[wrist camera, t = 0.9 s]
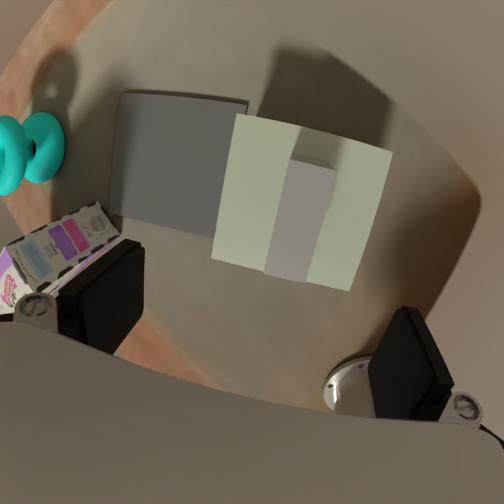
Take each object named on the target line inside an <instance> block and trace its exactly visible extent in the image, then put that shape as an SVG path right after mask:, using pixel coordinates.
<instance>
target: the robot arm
mask: <svg viewBox="0 0 504 504" xmlns="http://www.w3.org/2000/svg"><path fill="white" fill-rule="evenodd" d="M144 260H145V249H144V247H141V243H140V242H137V241H133V240H129V239H124V240H123V241H121V242H120V243H119V244H117V245H116V246H115V247H113V248H112V249H110V250H109V251H108V252H106V253H105V254H104V255H103V256H101V257H100V258H99V259H97V260H96V261H95V262H93V263H92V264H91V265H89V266H88V267H87V268H86V269H84V270H83V271H82V272H81V273H79V274H78V275H77V276H75V277H74V278H73V279H72V280H71V281H69V282H68V283H67V284H66V285H64V286H63V287H62V288H61V289H59V290H58V292H59V295H58V296H57V297H56V298H54V297H53V296H51V295H50V294H48V293H43V292H34V293H29V294H27V295H25V296H23V297H22V298H20V299H19V300H18V301H17V303H16V305H15V309H14V313H7V314H0V504H504V441H503V440H502V439H500V438H499V437H498V436H496V435H495V434H494V433H492V432H491V431H490V430H488V429H487V428H486V427H484V426H483V425H482V424H481V421H482V417H483V412H482V408H481V406H480V404H479V403H478V401H477V400H476V399H475V398H474V397H472V396H471V395H469V394H467V393H465V392H455V393H453V394H452V392H451V389H452V387H453V386H454V385H455V384H454V382H453V380H452V377H451V375H450V373H449V371H448V368H447V366H446V364H445V362H444V360H443V357H442V355H441V353H440V351H439V349H438V347H437V345H436V343H435V341H434V339H433V337H432V335H431V333H430V331H429V329H428V327H427V325H426V323H425V321H424V319H423V317H422V315H421V314H420V312H419V310H418V309H417V308H412V307H408V306H403V307H402V308H401V309H397V310H396V312H395V314H394V316H393V318H392V320H391V322H390V324H389V326H388V328H387V330H386V332H385V334H384V336H383V338H382V340H381V341H380V343H379V345H378V347H377V349H376V351H375V353H374V354H373V356H366V357H360V358H356V359H353V360H351V361H348V362H346V363H344V364H342V365H341V366H339V367H337V368H336V369H335V370H334V371H332V373H331V374H330V375H329V376H328V377H327V379H326V381H325V383H324V386H323V398H324V401H325V403H326V405H327V406H328V407H329V408H330V409H332V410H333V411H334V413H332V412H325V411H318V410H312V409H306V408H300V407H294V406H289V405H283V404H278V403H273V402H269V401H264V400H259V399H255V398H250V397H246V396H242V395H238V394H233V393H229V392H225V391H222V390H218V389H214V388H210V387H207V386H203V385H200V384H196V383H193V382H189V381H186V380H183V379H179V378H176V377H173V376H170V375H167V374H164V373H160V372H157V371H154V370H152V369H149V368H146V367H143V366H140V365H137V364H135V363H132V362H129V361H126V360H124V359H121V358H118V357H116V356H113V354H114V352H115V351H116V350H117V348H118V347H119V345H120V344H121V343H122V341H123V340H124V339H125V337H126V336H127V335H128V333H129V332H130V331H131V329H132V328H133V327H134V325H135V324H136V323H137V322H138V320H139V319H140V318H141V316H142V313H143V308H144Z"/></svg>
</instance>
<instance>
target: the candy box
mask: <svg viewBox="0 0 504 504" xmlns="http://www.w3.org/2000/svg"><path fill="white" fill-rule="evenodd" d="M120 235H121V234H120V233H119V232H118V230H117V229H116V227H115V226H114V224H113V223H112V221H111V220H110V218H109V217H108V215H107V214H106V212H105V211H104V209H103V207H102V206H101V205H100V203H99V202H98V201H96V202H94V203H91V204H89V205H87V206H85V207H83V208H81V209H78V210H76V211H74V212H72V213H70V214H67V215H65V216H63V217H61V218H59V219H57V220H55V221H53V222H51V223H49V224H47V225H45V226H43V227H40V228H38V229H37V230H35V231H32V232H30V233H29V234H26V235H25V236H23V237H21V238H19V239H17V240H15V241H13V242H11V243H10V244H8V245H6V246H5V247H4V248H3V250H2V252H1V254H0V314H7V313H14V309H15V305H16V303H17V301H18V300H19V299H20V298H22V297H23V296H25V295H27V294H29V293H34V292H43V293H48V294H50V295H51V294H52V293H54V292H55V291H56V290H57V289H58V288H60V287H61V286H62V285H64V284H65V283H66V282H67V281H69V280H70V279H71V278H73V277H74V276H75V275H76V274H77V273H78V272H79V271H80V270H81V269H82V268H84V267H85V266H86V265H87V264H88V263H89V262H90V261H91V260H92V259H94V258H95V257H96V256H97V255H98V254H99V253H100V252H101V251H102V250H103V249H105V248H106V247H107V246H108V245H109V244H110V243H112V242H113V241H114V240H115V239H116V238H118V237H119V236H120Z"/></svg>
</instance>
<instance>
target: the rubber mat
mask: <svg viewBox="0 0 504 504" xmlns="http://www.w3.org/2000/svg"><path fill="white" fill-rule="evenodd" d="M247 107H248V106H247V105H242V104H236V103H230V102H223V101H216V100H208V99H200V98H191V97H181V96H170V95H156V94H138V93H121V97H120V103H119V109H118V116H117V123H116V131H115V139H114V148H113V158H112V170H111V183H110V201H109V213H110V214H114V215H118V216H123V217H127V218H131V219H135V220H140V221H144V222H148V223H152V224H157V225H161V226H165V227H169V228H173V229H178V230H182V231H186V232H190V233H195V234H199V235H203V236H207V237H211V238H215V232H216V225H217V219H218V213H219V207H220V201H221V195H222V190H223V184H224V178H225V173H226V167H227V162H228V156H229V151H230V145H231V140H232V135H233V130H234V124H235V119H236V114H237V113H238V114H243V115H246V112H247Z"/></svg>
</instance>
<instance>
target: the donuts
mask: <svg viewBox="0 0 504 504" xmlns="http://www.w3.org/2000/svg"><path fill="white" fill-rule="evenodd" d="M34 141H35V144H36V154H35V155H34V152H33V143H34ZM64 147H65V143H64V134H63V131H62V128H61V126H60V124H59V122H58V121H57V119H56V118H55V117H54V116H52V115H51V114H49V113H45V112H38V113H35V114H33V115H31V116H29V117H28V118H27V119H26V120H25V121H24V122H23V123H22V125H21V124H20V123H19V122H18V121H17V120H16V119H15V118H13V117H11V116H7V115H3V116H0V195H7V194H10V193H12V192H13V191H14V190H15V189H16V188H17V187H18V186H19V185H20V183H21V181H22V179H23V177H25V178H26V179H28V180H29V181H31V182H35V183H41V182H45V181H47V180H49V179H50V178H52V177H53V176H54V175H55V173H56V172H57V171H58V169H59V167H60V165H61V163H62V160H63V156H64Z"/></svg>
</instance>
